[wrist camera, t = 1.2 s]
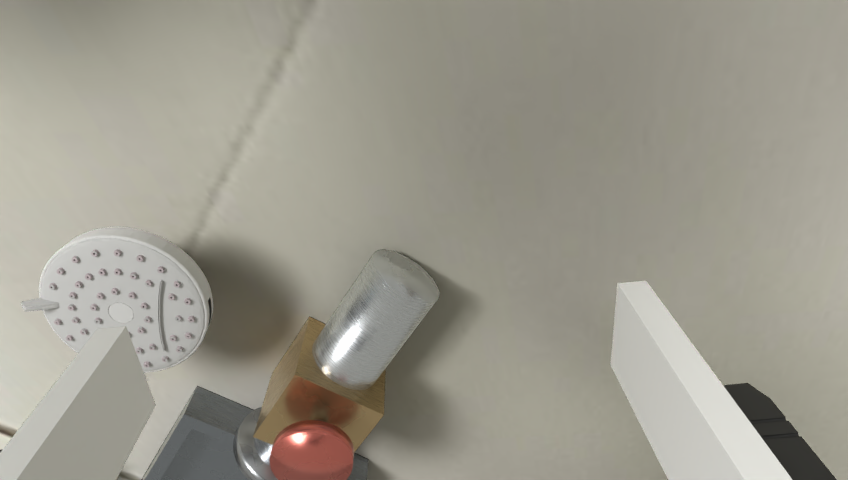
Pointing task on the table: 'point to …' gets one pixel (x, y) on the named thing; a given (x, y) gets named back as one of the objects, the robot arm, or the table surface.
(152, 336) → the showerhead
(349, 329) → the metal assembly
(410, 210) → the table surface
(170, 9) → the table surface
